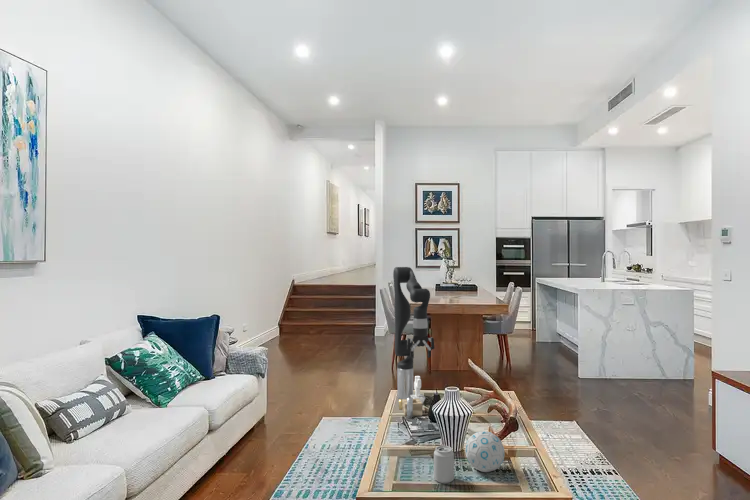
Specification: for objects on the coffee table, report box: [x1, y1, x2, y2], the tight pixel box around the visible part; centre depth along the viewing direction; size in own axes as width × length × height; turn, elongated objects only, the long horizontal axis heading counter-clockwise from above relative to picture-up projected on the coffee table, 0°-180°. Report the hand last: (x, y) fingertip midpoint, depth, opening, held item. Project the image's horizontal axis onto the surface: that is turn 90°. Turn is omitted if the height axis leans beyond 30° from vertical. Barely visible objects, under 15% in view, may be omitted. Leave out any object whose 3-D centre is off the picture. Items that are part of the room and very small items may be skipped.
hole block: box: [401, 399, 423, 417], centre depth 273 cm, size 9×9×6 cm
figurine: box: [410, 375, 426, 405], centre depth 290 cm, size 7×9×15 cm
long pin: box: [406, 397, 414, 419], centre depth 266 cm, size 3×3×10 cm
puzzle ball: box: [464, 430, 505, 473], centre depth 205 cm, size 15×15×15 cm
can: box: [433, 445, 455, 484], centre depth 197 cm, size 8×8×12 cm
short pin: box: [398, 398, 402, 411], centre depth 280 cm, size 3×3×5 cm
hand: (420, 357), depth 272 cm, fingers open, 8 cm apart
